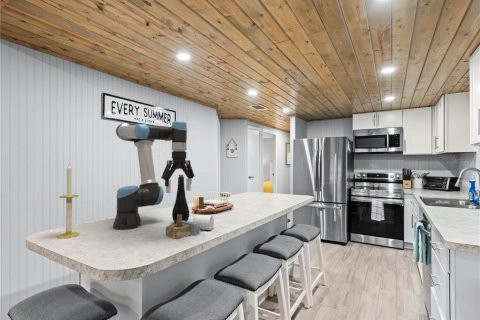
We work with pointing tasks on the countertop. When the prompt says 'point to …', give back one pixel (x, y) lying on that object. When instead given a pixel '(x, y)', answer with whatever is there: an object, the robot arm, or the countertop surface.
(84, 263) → the countertop surface
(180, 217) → the dowel
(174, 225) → the block
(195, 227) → the backstop wall
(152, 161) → the robot arm
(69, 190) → the candle
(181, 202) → the bottle
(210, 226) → the mug
